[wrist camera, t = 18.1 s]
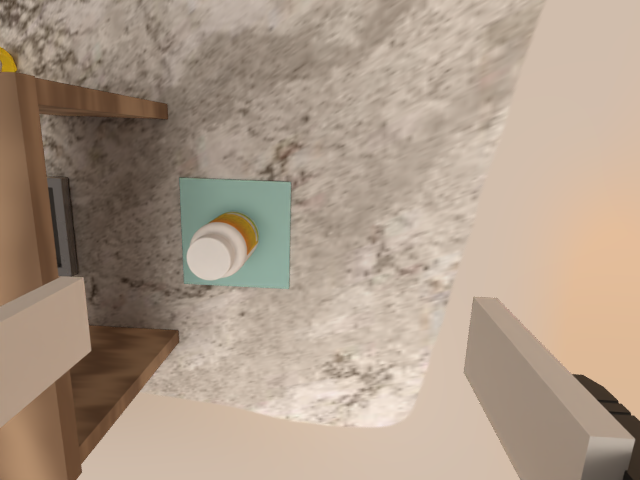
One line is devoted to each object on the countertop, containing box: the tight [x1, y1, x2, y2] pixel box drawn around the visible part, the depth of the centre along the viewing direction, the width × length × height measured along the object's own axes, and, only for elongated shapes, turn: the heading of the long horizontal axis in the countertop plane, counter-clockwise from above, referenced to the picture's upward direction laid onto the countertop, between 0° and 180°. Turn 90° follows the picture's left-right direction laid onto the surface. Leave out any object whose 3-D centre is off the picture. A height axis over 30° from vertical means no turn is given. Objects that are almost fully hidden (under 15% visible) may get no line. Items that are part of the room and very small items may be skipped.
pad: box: [179, 177, 291, 289], centre depth 46 cm, size 12×12×1 cm
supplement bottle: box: [187, 211, 259, 280], centre depth 41 cm, size 5×5×10 cm
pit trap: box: [47, 177, 78, 277], centre depth 47 cm, size 11×11×1 cm
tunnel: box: [0, 72, 179, 480], centre depth 36 cm, size 13×27×22 cm, turn 178°
